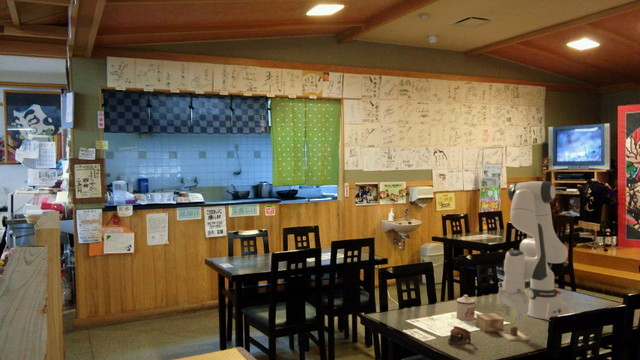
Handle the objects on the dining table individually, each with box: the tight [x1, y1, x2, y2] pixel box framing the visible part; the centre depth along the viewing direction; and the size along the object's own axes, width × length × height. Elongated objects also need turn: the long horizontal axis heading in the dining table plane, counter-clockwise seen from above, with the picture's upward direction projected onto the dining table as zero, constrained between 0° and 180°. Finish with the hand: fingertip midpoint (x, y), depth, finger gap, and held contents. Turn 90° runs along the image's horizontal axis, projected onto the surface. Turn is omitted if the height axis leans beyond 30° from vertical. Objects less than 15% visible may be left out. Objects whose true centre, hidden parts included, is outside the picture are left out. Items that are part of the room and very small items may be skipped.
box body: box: [475, 312, 505, 334], centre depth 234 cm, size 9×9×6 cm
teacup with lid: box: [456, 294, 477, 322], centre depth 252 cm, size 12×9×12 cm
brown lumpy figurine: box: [447, 325, 472, 347], centre depth 214 cm, size 12×10×8 cm
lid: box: [497, 325, 531, 342], centre depth 224 cm, size 10×10×5 cm
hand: (512, 317), depth 224 cm, fingers open, 8 cm apart
